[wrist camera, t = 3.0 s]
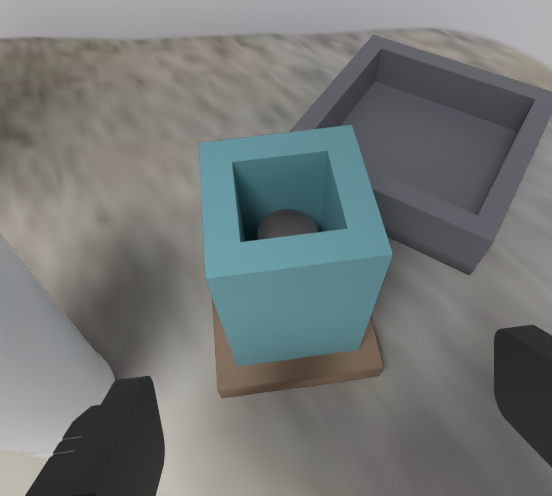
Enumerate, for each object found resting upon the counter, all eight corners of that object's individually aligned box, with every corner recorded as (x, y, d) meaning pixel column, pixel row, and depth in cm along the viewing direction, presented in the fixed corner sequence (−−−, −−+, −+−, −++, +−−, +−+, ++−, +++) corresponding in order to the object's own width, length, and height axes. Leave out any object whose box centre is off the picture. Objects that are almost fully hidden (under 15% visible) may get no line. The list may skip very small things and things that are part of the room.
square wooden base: (221, 398, 22) (190, 341, 15) (213, 261, 27) (185, 170, 20) (378, 376, 23) (414, 311, 16) (345, 244, 27) (362, 149, 20)
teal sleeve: (236, 366, 22) (205, 278, 14) (226, 238, 26) (197, 116, 18) (358, 349, 22) (392, 254, 14) (329, 226, 26) (343, 99, 18)
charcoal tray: (278, 185, 30) (276, 146, 27) (366, 76, 35) (373, 34, 32) (469, 275, 25) (492, 241, 22) (534, 135, 31) (560, 94, 28)
